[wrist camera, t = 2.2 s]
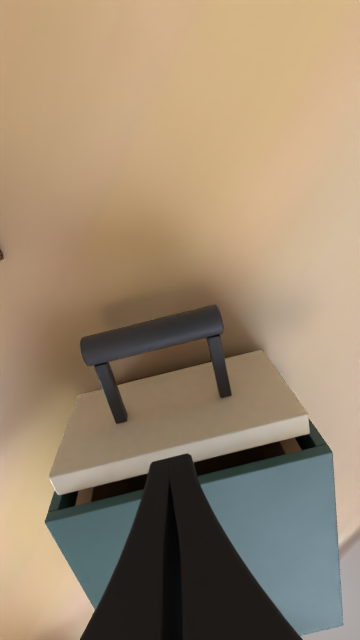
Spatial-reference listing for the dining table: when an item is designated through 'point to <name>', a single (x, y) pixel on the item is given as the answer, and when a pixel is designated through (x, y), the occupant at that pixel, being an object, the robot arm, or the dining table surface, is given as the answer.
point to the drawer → (173, 410)
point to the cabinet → (235, 531)
